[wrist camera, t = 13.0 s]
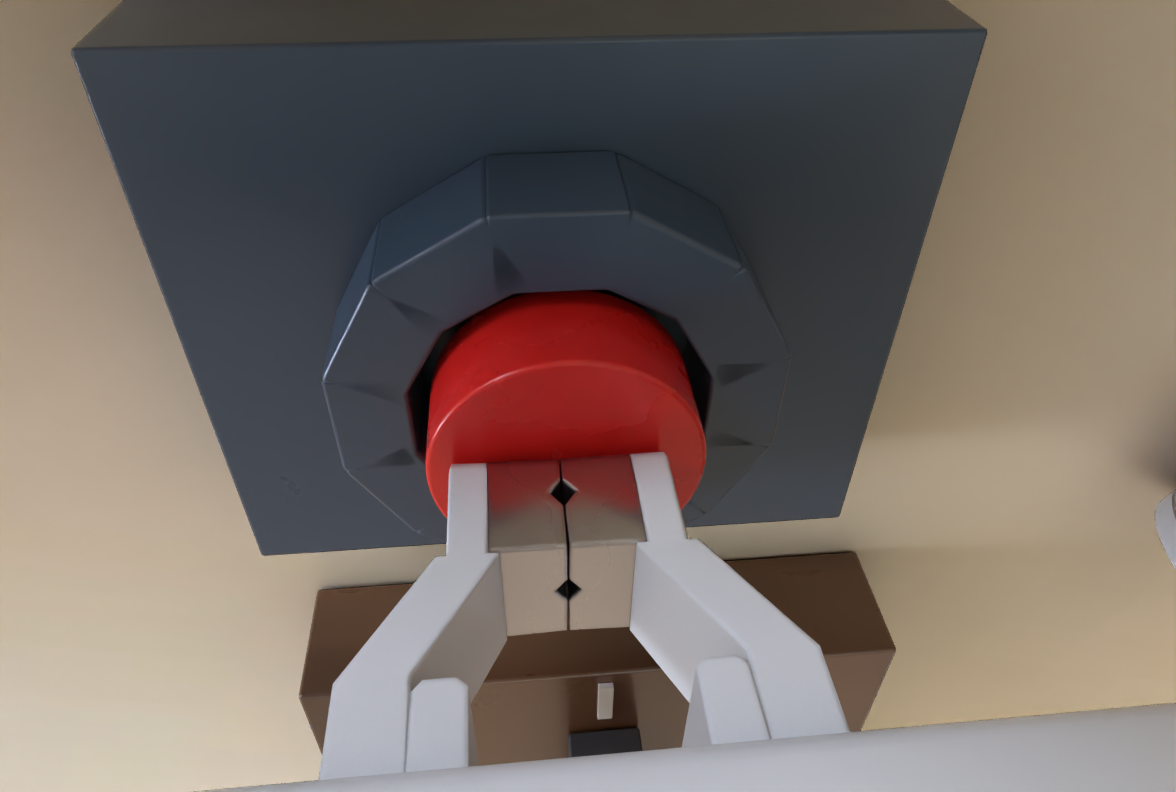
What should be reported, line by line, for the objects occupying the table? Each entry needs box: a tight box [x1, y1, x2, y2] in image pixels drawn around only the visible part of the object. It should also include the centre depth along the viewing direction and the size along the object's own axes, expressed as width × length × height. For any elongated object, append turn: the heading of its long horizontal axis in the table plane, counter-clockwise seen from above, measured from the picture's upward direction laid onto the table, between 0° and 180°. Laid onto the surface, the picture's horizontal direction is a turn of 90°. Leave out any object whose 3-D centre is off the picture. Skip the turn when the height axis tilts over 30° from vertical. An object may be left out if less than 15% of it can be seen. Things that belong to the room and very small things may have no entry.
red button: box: [425, 290, 707, 518], centre depth 13 cm, size 4×4×2 cm
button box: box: [71, 0, 987, 556], centre depth 14 cm, size 12×10×4 cm
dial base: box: [299, 552, 896, 766], centre depth 25 cm, size 14×12×3 cm
